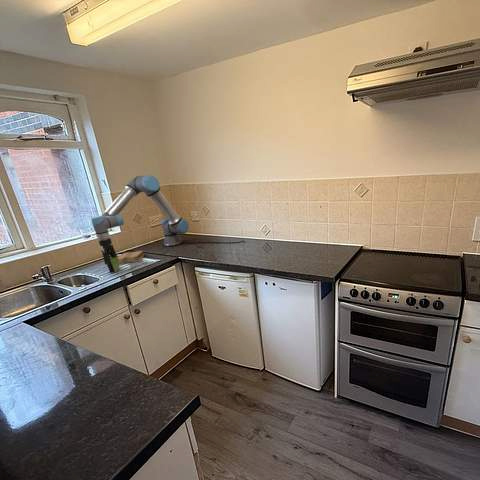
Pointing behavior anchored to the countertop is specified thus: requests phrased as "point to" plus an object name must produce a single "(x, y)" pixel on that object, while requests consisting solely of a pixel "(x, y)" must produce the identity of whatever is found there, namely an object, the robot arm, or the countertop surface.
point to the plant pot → (115, 263)
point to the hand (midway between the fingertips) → (114, 270)
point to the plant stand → (131, 257)
